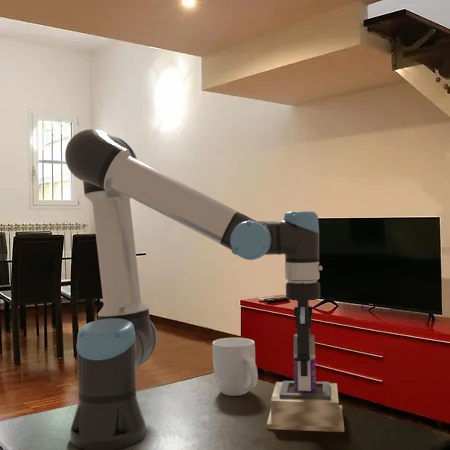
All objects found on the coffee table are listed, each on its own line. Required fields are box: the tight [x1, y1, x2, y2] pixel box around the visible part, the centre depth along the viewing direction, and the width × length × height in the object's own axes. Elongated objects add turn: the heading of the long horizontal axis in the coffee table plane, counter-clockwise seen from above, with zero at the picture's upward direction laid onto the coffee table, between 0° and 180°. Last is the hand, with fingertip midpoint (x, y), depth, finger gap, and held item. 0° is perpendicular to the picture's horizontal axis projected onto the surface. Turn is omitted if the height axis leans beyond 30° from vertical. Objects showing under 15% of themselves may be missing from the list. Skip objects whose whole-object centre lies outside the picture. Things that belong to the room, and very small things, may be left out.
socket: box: [266, 380, 345, 433], centre depth 123 cm, size 16×14×7 cm
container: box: [293, 333, 317, 394], centre depth 123 cm, size 5×5×15 cm
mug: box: [212, 337, 259, 397], centre depth 142 cm, size 15×11×13 cm
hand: (304, 386), depth 123 cm, fingers closed on container, 5 cm apart
